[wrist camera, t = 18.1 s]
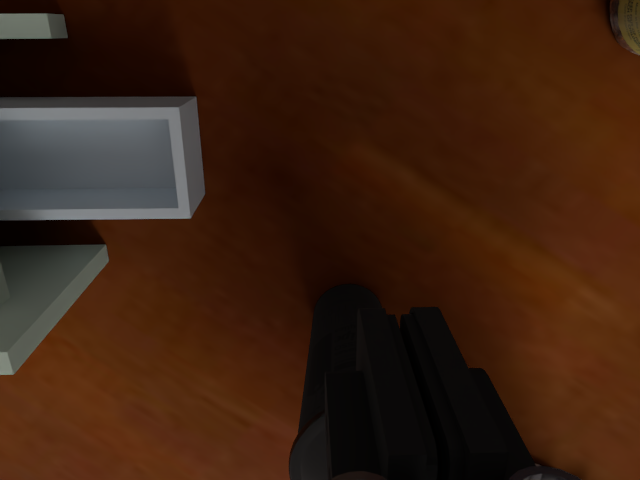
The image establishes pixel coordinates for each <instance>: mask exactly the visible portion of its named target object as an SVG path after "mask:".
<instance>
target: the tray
mask: <svg viewBox="0 0 640 480" xmlns="http://www.w3.org/2000/svg"><path fill="white" fill-rule="evenodd" d="M204 195H205V186H204V175H203V164H202V153H201V142H200V131H199V120H198V109H197V98H196V97H0V220H90V219H189V218H191V217H192V215H193V214H194V212H195V210H196V209H197V207H198V205H199V204H200V202H201V200H202V199H203V197H204Z"/></svg>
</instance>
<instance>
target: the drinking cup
mask: <svg viewBox="0 0 640 480" xmlns="http://www.w3.org/2000/svg"><path fill="white" fill-rule="evenodd" d="M364 308H382V306H381V304H380V302H379V300H378V298H377V297H376V296H375V295H374V294H373V293H372V292H371V291H370V290H368V289H366V288H364V287H362V286H359V285H353V284H345V285H339V286H336V287H334V288H332V289H330V290H328V291H327V292H325V293H324V294H323V295H322V296H321V297H320V298H319V300H318V302H317V303H316V306H315V309H314V316H313V323H312V331H311V338H310V346H309V354H308V361H307V369H306V376H305V384H304V392H303V399H302V407H301V414H300V422H299V429H298V435H297V437H296V439H295V440H294V442H293V445H292V448H291V451H290V457H289V475H290V480H328V472H327V454H326V433H325V372H337V371H356V349H357V314H358V309H364Z"/></svg>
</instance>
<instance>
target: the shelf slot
mask: <svg viewBox="0 0 640 480" xmlns="http://www.w3.org/2000/svg"><path fill="white" fill-rule="evenodd" d="M53 38H68V35H67V30H66V24H65V19H64V15H63V14H0V39H53ZM108 262H109V258H108V253H107V247H106V244H102V245H44V246H0V375H12V374H14V373H15V372H16V371H17V370H18V369H19V368H20V366H21V365H22V364H23V363H24V362H25V360H26V359H27V358H28V357H29V356H30V354H31V353H32V352H33V351H34V350H35V348H36V347H37V346H38V345H39V344H40V343H41V341H42V340H43V339H44V338H45V337H46V335H47V334H48V333H49V332H50V331H51V329H52V328H53V327H54V326H55V325H56V323H57V322H58V321H59V320H60V319H61V318H62V316H63V315H64V314H65V313H66V312H67V310H68V309H69V308H70V307H71V306H72V304H73V303H74V302H75V301H76V300H77V298H78V297H79V296H80V295H81V294H82V293H83V291H84V290H85V289H86V288H87V287H88V285H89V284H90V283H91V282H92V281H93V279H94V278H95V277H96V276H97V275H98V273H99V272H100V271H101V270H102V269H103V268H104V266H105V265H106V264H107V263H108Z"/></svg>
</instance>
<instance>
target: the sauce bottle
mask: <svg viewBox="0 0 640 480" xmlns="http://www.w3.org/2000/svg"><path fill="white" fill-rule="evenodd" d="M610 22H611V25H612V30H613V33H614V34H615V38H616V40H617V42H618V43H619V44H620V45H621V46H622V47H623V48H626V49H627V50H629V51H630V52H632V53H635V54H638V55H640V0H611V1H610Z"/></svg>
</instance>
